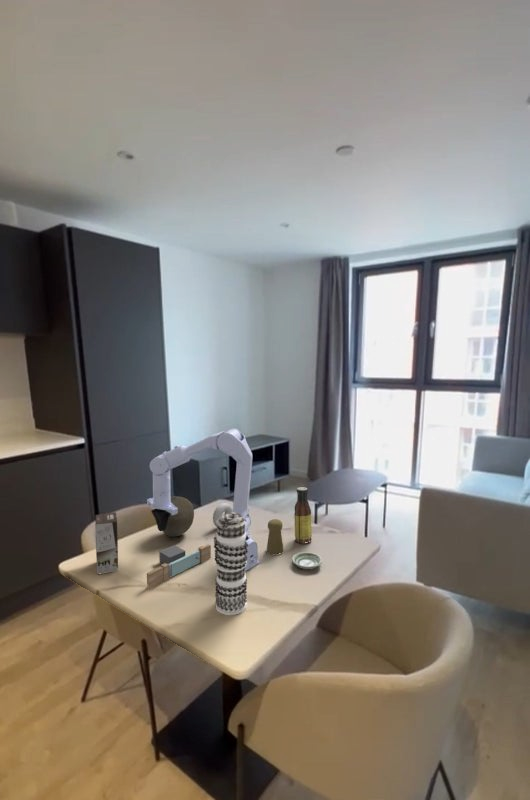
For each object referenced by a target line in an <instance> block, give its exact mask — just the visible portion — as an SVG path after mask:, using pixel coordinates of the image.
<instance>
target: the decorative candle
mask: <svg viewBox="0 0 530 800" xmlns="http://www.w3.org/2000/svg"><path fill="white" fill-rule="evenodd" d="M246 522H247V521H246V519H245V518H243V517H242V515H240V514H238V513H225V512H224V514H222V516H221V517H220V518H219V519H218V520H217V521H216V524H217V527H216V534H215V536H214V537H213V545H214V546H213V548H214V561H215V567H216V580H215V584H214V585H215V594H214V596H215V603H214V604H215V610H217V612H218V613H219V614H222V615H225V616H235V615H238V614H241V613H242V612H243V613H244V611H245V610H246V609H247V606H248V604H247V596H248V595H247V593H248V592H247V590H248V588H247V586H248V585H247V584H248V583H247V581H248V579H247V577H246V576H247V574H246V571H245V567H246V565H247V562H246V560H247V555H245V554H246V553H247V552H248V549H247V547H248V543H247V542H245V538H246V540H248V539H249V538H248V535H246V531H245V524H246Z"/></svg>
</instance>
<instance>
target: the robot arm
mask: <svg viewBox="0 0 530 800" xmlns="http://www.w3.org/2000/svg"><path fill="white" fill-rule="evenodd" d="M208 449H213V450H215V451H216V450H218V449H219V450H220V451H221V452H223V453H224V454H226V455H228V456H230V457H231V458H232V459H233V460H235V462H236V469H235V470H236V471H235V479H234V490H233V491H234V492H233V504H232V506H233V507H232V509H233V511H232V513H238V514H240V515H242V517H243V518H245V519H246V521H247V522H246V524H245V531H246V535H248V538H249V539H248V540H246V538H245V542H247V543H248V547H247V549H248V552H247V553H246V554H245V555H247V560H246V562H247V565H246V567H245V572H247V571H248V570H250V569H252V568H253V567H255V566H257V565H258V564H260V561H259V559H258V555H259V553H258V543H257V542H256V541H255V540H253V539H252V537H251V533H250V531H249V528H250V526H251V524H252V519H251V516H250V508H249V501H250V491H251V489H250V488H251V479H252V467H253V452H252V451H251V449H250V446H249V444H248V442H247V440H246V436H245V434H243V433H242V432H241V431H240V430H239V429H237V428H235V427H234V428H229V429H227V430H223V431H220V432H217V433H213V434H211V435H209V436H207V437H205V438H203V439H201V440H199V441H197V442H195V443H193V444H191V445H189V446H186V445H180V444H178V445H175V446H174V447H173V449H171V450H169V451H164V452H162V453H161V454H159V455H158V456H155V457H154V458H153V459H151V461H150V462H149V469H150V471H151V473H152V497H150V498H147V499H146V505H147V506H150V507H149V508H150V509H151V514H152V516H153V517H154V520H155V523H156V527H157V530H158V531H160V532H163V530H166V526H167V522H168V519H169V517H170V515H175V514H178V508H176V507H175V506H174V505H173V504H172V503H171V497H172V496H171V495H172V494H171V470H172V469H174V468H177V467H178V466H181V465H184V464H186V463H189V462H190V460H191V458H192V456H194V455H196V454H198V453H201V452H203V451H205V450H206V451H207V450H208Z"/></svg>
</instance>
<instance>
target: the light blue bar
mask: <svg viewBox="0 0 530 800" xmlns="http://www.w3.org/2000/svg"><path fill="white" fill-rule="evenodd" d="M199 563H201V562H200V551H199V550H195V551H193V552H191V553H189V554H185V556H184V557H182V558H180V559H178V560H176V561H174V562H172V563H170V564H168V568H169V579H171V577H174V576H176V575H178V574H180V573H182V572H185V571H187V570H188V569H190V568H192V567H194V566H195V565H198V564H199Z"/></svg>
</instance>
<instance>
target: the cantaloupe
mask: <svg viewBox="0 0 530 800" xmlns="http://www.w3.org/2000/svg"><path fill="white" fill-rule="evenodd" d="M171 503H172V504H173V505H174V506H175V507H176V508H178V514H175V515H170V517H169V519H168V522H167V526H166V530H163V531H162V533H163V534H164V535H166V536H168V537H179V536H182V535H183V534H185V533H186V532H187V531H188V530H189V529H190V528H191V526H192V525H193V522H194V519H195V508H194V506H193V503H192V502H191V501H190V500H189V499H187V498H185V497H182V496H171Z"/></svg>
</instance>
